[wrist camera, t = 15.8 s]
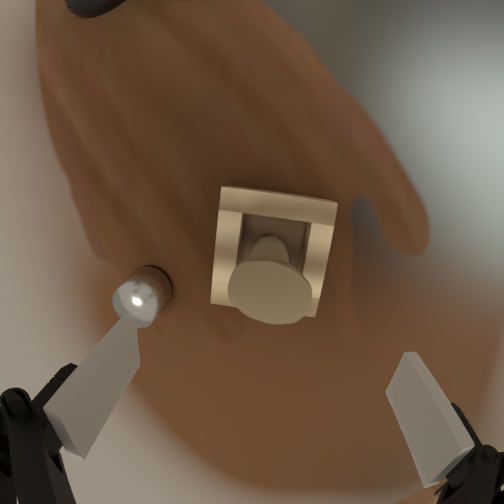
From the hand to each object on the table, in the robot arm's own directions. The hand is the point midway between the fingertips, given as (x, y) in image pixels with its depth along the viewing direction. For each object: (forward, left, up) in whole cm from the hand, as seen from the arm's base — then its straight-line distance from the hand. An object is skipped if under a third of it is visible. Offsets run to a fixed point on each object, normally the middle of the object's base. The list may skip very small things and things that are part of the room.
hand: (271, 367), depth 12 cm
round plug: (+8, -15, -24) cm, 30 cm away
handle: (0, 0, -24) cm, 24 cm away
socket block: (0, 0, -25) cm, 25 cm away
